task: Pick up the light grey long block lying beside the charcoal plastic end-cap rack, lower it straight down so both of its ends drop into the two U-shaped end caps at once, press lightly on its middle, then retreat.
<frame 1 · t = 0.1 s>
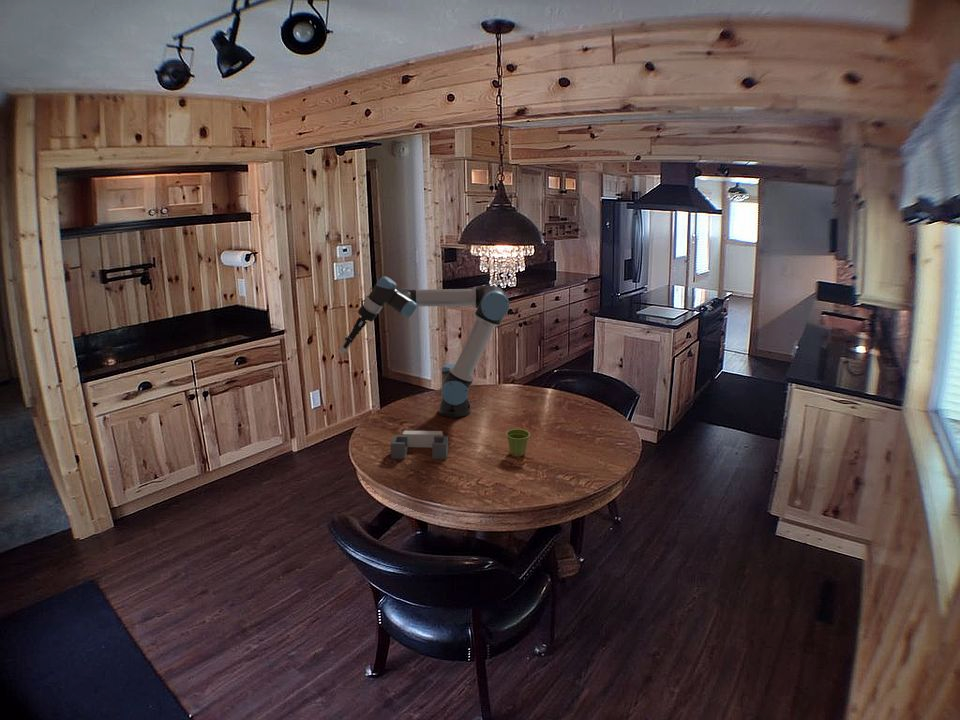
hand: (343, 348, 256), 36 cm above the table, tool tilted 35°, fingers open, 13 cm apart
endcap rack: (420, 454, 239), on the table
plant pot: (517, 453, 240), on the table
light grey long block: (423, 445, 247), on the table
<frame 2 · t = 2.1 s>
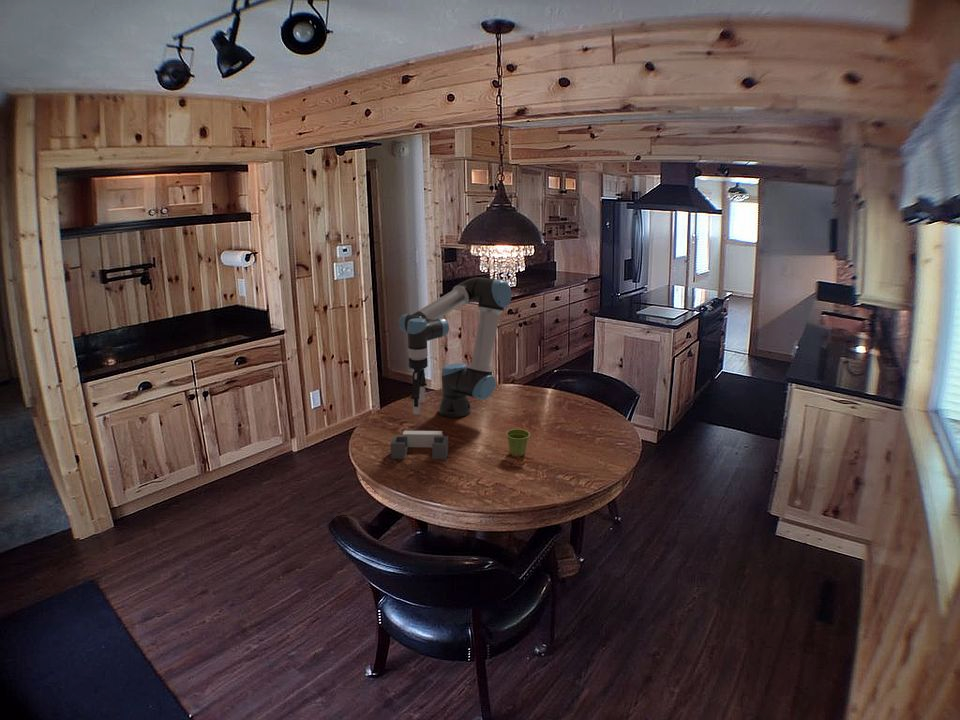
hand: (419, 407, 242), 17 cm above the table, tool pointing down, fingers open, 13 cm apart
nothing on the table moved.
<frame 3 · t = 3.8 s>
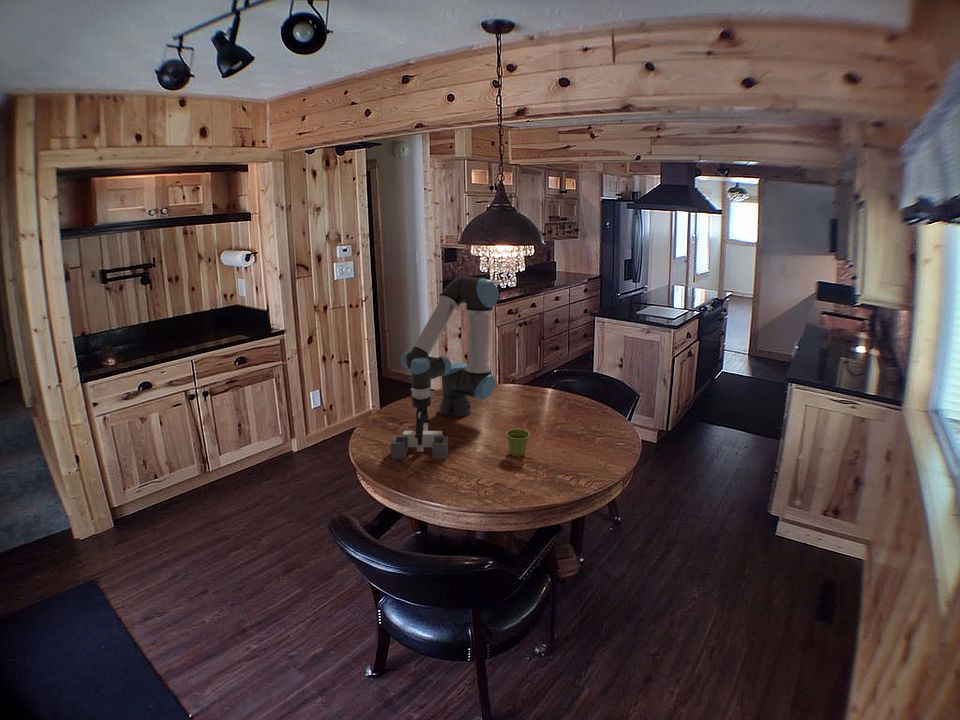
hand: (422, 444, 247), 1 cm above the table, tool pointing down, fingers open, 13 cm apart
nothing on the table moved.
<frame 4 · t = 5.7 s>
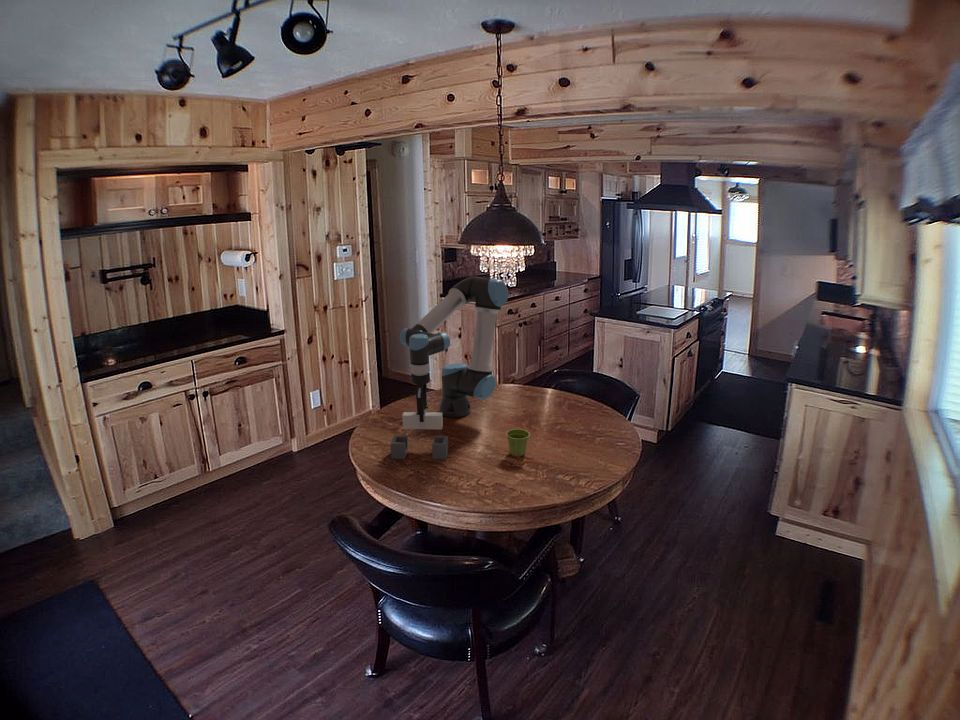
hand: (423, 426, 245), 9 cm above the table, tool pointing down, fingers closed on light grey long block, 3 cm apart
light grey long block: (423, 427, 245), point 8 cm above the table, touching gripper
everything else where it was.
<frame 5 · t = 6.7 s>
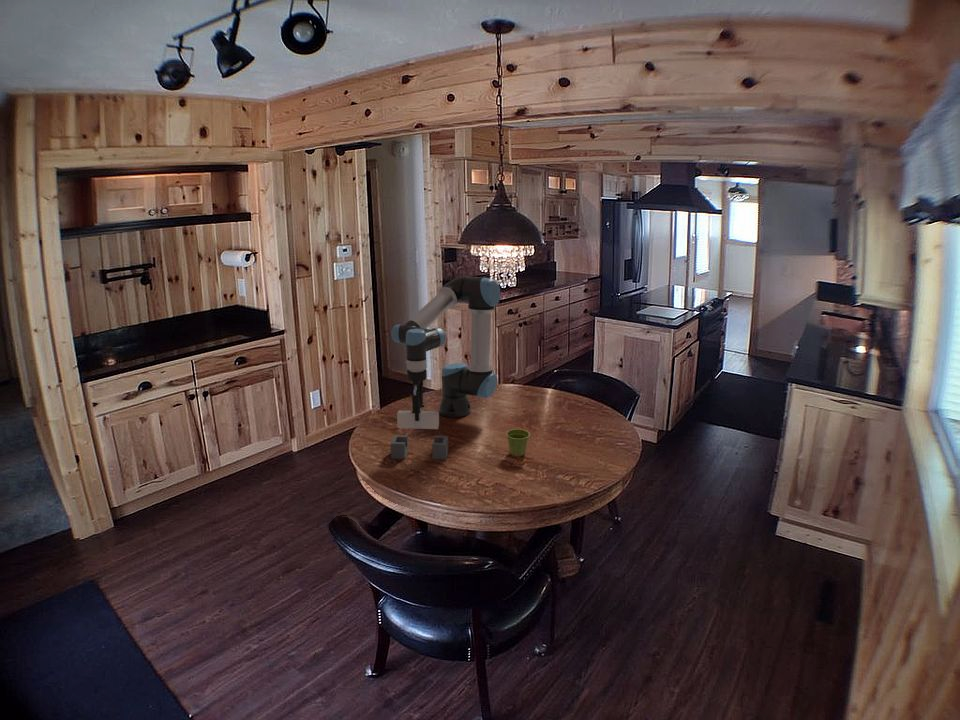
hand: (418, 425, 235), 13 cm above the table, tool pointing down, fingers closed on light grey long block, 3 cm apart
light grey long block: (418, 426, 235), point 12 cm above the table, touching gripper
everything else where it was.
when the fingers open (2 cm above the table, at t = 8.2 s): light grey long block stays where it is, resting on endcap rack.
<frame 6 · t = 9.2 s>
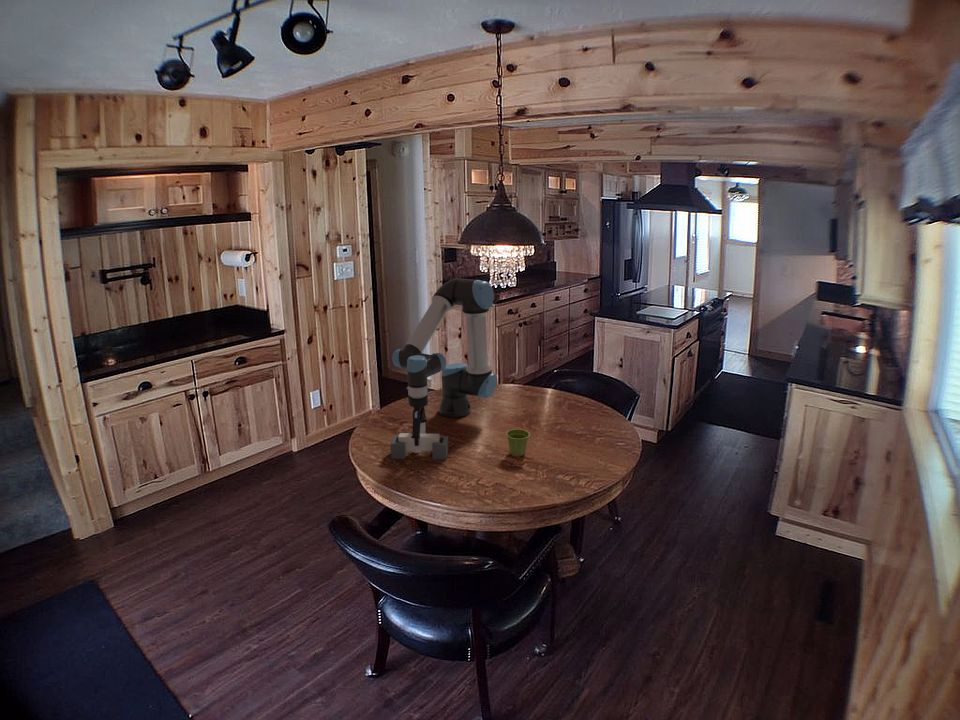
hand: (419, 444, 238), 4 cm above the table, tool pointing down, fingers open, 13 cm apart
light grey long block: (419, 449, 238), point 2 cm above the table, touching endcap rack
everything else where it was.
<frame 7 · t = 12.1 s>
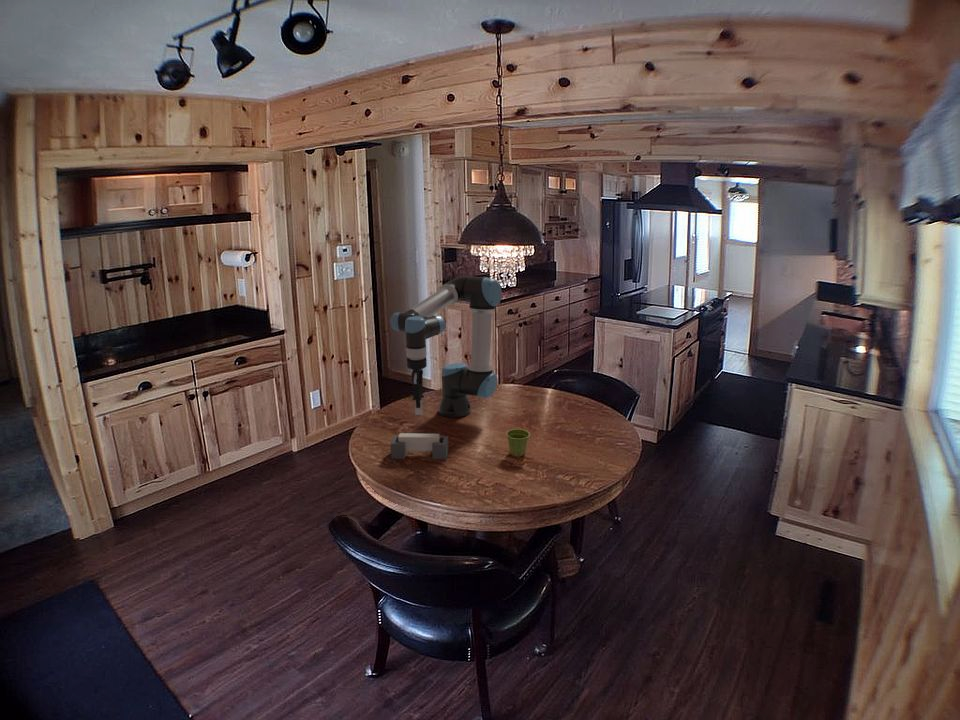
hand: (418, 414, 234), 17 cm above the table, tool pointing down, fingers closed
nothing on the table moved.
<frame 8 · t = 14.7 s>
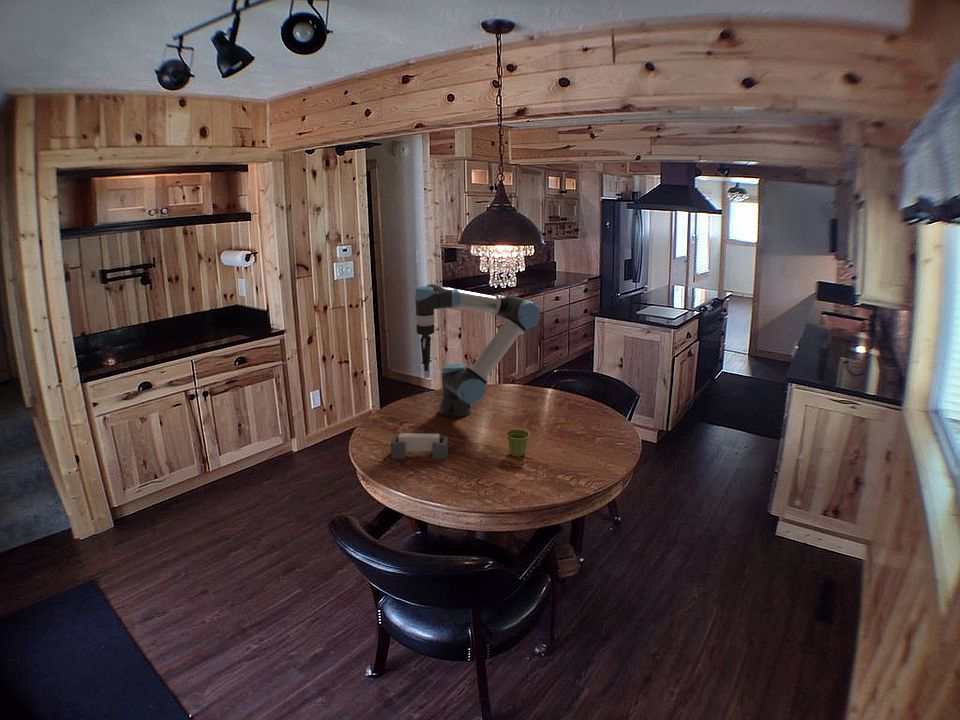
hand: (427, 377, 255), 24 cm above the table, tool pointing down, fingers closed
nothing on the table moved.
at the end: light grey long block 0.2 cm off-centre on the endcap rack, point 2.5 cm above the endcap rack's base; light grey long block tilted 0°; the gripper is holding nothing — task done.
